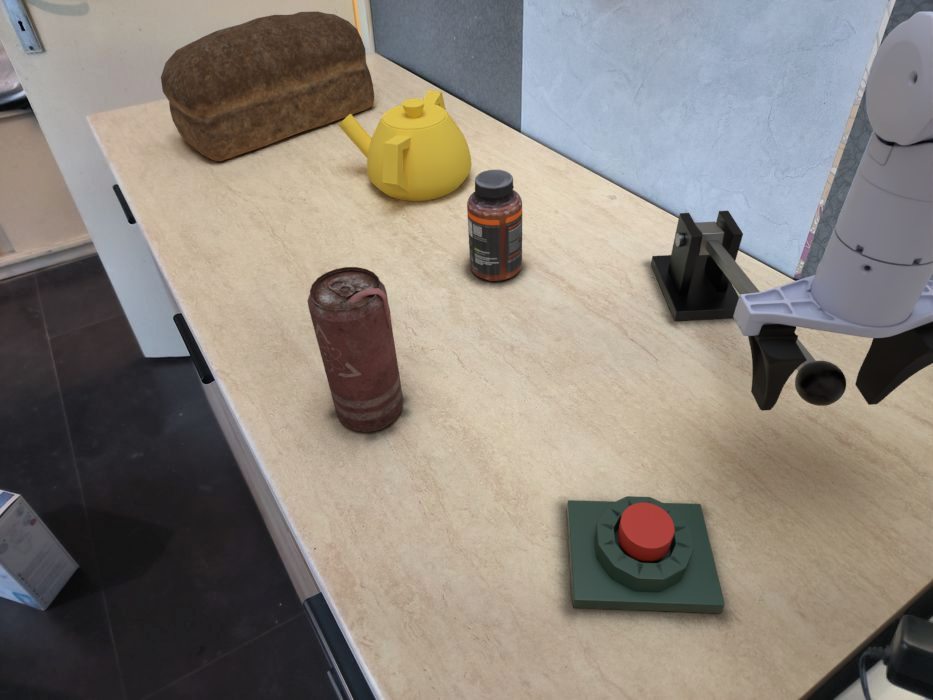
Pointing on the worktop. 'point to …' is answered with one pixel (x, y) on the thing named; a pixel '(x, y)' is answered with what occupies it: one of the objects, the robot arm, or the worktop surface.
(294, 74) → the bread
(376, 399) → the can
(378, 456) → the worktop surface
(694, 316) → the bracket
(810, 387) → the grey lever handle
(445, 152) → the teapot
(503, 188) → the supplement bottle
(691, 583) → the button box
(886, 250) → the robot arm
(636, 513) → the button
